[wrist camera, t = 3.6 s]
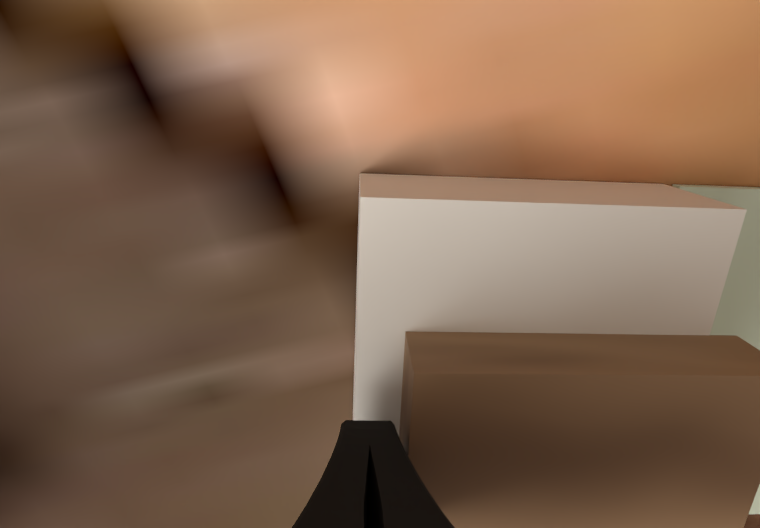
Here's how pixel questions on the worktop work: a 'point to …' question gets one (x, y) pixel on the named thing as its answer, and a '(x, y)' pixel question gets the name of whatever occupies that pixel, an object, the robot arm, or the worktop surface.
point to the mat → (739, 273)
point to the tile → (583, 428)
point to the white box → (528, 265)
